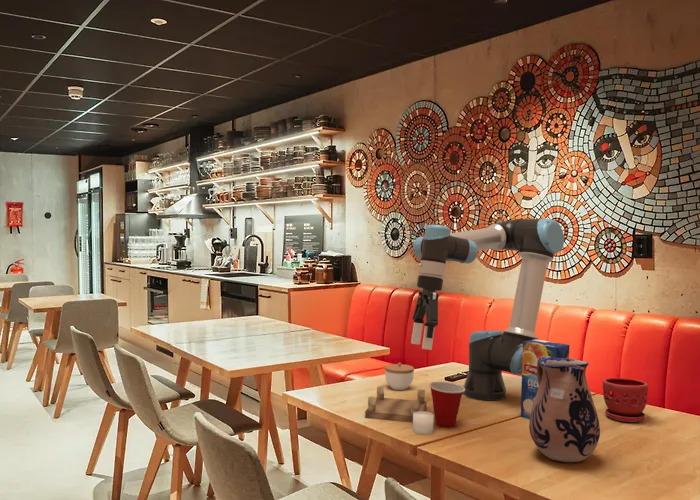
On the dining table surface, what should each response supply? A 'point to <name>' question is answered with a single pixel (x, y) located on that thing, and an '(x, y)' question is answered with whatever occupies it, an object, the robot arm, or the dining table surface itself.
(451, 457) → the dining table surface
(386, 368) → the lidded jar
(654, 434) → the dining table surface
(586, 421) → the ceramic pitcher
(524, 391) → the juice carton
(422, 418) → the marshmallow
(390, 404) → the stand
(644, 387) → the plant pot
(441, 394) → the plastic cup
